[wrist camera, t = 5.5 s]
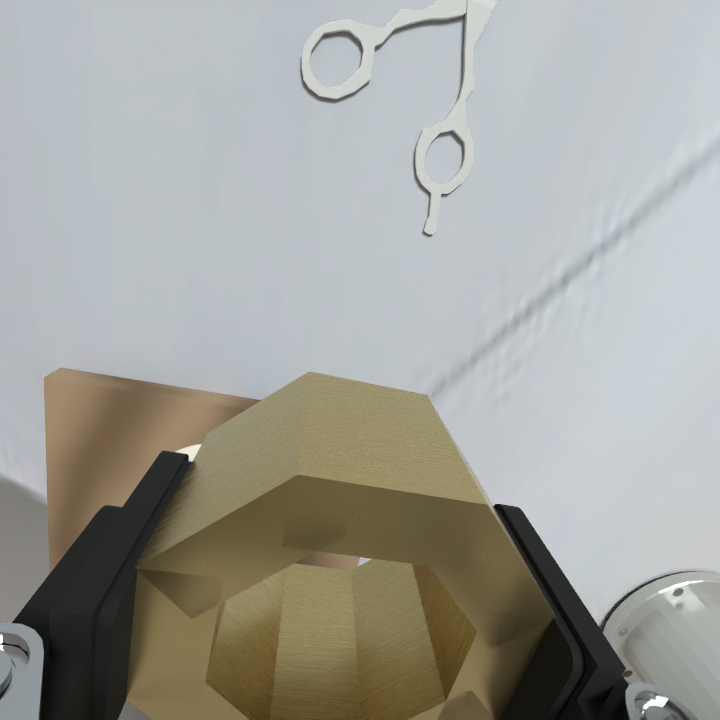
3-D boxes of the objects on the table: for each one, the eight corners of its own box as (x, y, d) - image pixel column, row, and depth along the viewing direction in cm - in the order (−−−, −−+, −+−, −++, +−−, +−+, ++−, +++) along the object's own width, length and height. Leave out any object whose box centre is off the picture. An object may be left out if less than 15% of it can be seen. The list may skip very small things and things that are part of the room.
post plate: (390, 421, 27) (412, 489, 20) (346, 582, 31) (352, 681, 25) (60, 367, 24) (-41, 426, 17) (63, 554, 28) (-17, 657, 22)
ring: (503, 410, 10) (606, 523, 6) (423, 613, 12) (466, 786, 9) (219, 353, 9) (145, 450, 5) (185, 586, 11) (116, 770, 8)
